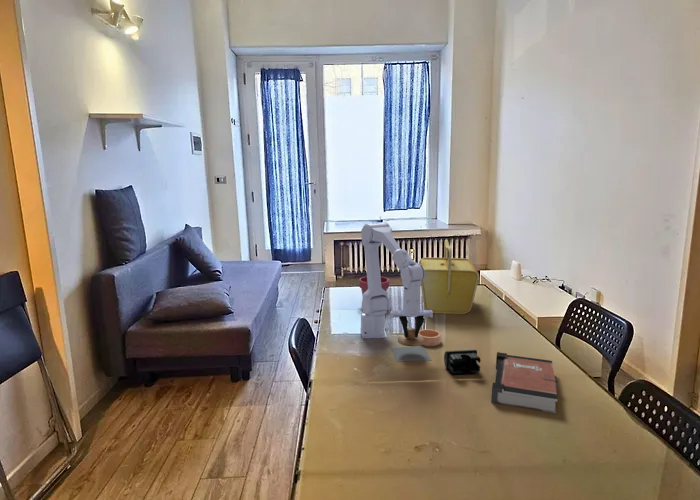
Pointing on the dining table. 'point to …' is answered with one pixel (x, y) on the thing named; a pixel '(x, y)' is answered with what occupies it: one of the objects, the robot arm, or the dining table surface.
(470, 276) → the picnic basket
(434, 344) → the bowl
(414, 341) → the lid
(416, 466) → the dining table surface
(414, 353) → the mat
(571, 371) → the dining table surface
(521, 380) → the book
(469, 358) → the end cap
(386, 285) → the plant pot
